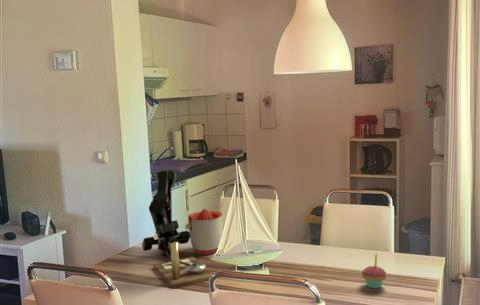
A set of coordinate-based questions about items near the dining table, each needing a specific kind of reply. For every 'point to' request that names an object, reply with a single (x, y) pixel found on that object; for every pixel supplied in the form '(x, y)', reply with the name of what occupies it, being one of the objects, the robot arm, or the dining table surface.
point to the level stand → (184, 279)
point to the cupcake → (374, 275)
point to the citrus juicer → (205, 231)
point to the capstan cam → (192, 268)
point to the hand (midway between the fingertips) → (172, 259)
